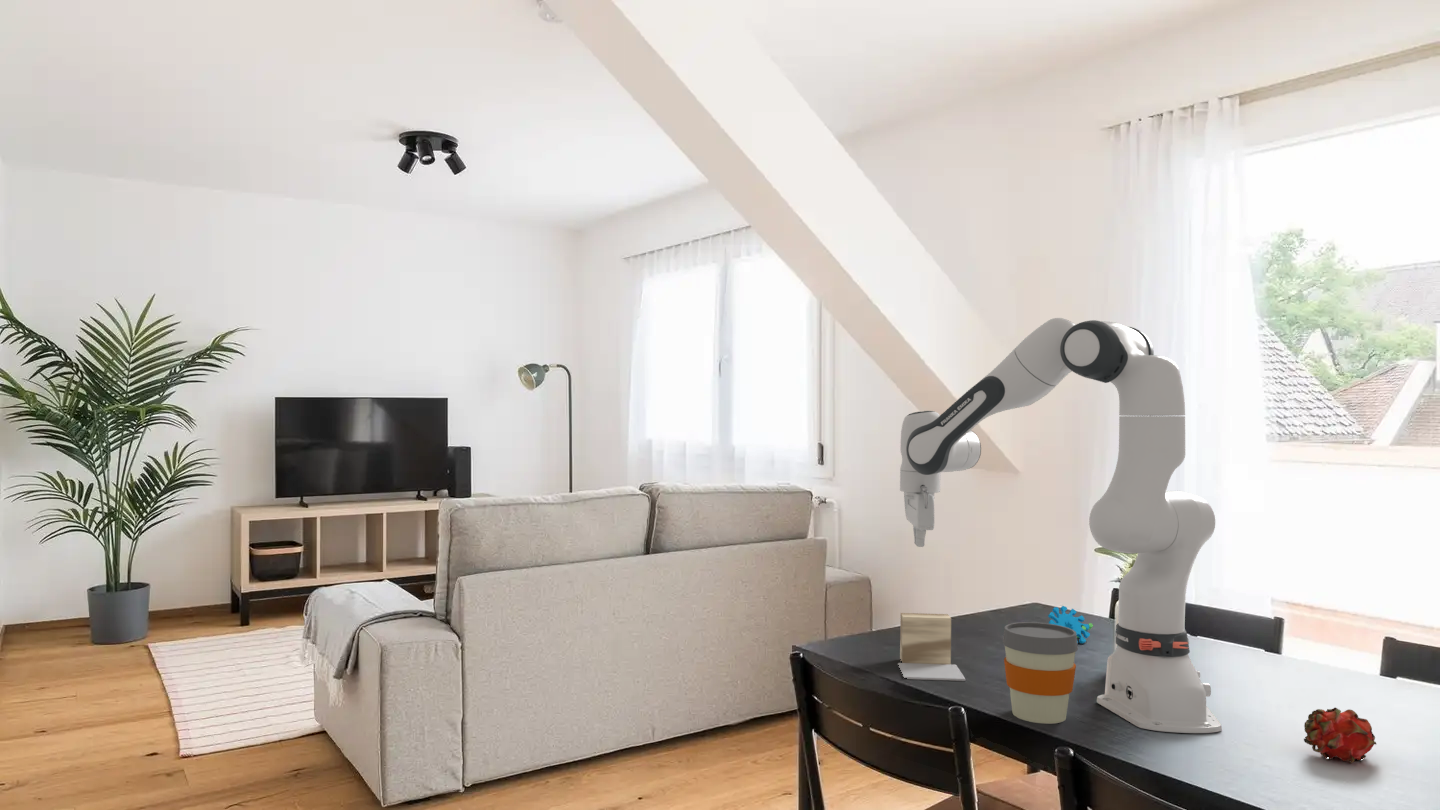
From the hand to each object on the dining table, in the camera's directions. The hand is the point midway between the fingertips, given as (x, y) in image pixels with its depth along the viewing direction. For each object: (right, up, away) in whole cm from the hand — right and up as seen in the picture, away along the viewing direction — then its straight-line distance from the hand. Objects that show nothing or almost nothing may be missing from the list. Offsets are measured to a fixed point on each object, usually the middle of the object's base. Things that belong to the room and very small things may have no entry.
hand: (919, 545), depth 213 cm
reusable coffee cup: (+12, -23, -45) cm, 52 cm away
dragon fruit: (+53, -24, -64) cm, 86 cm away
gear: (+37, -24, +10) cm, 45 cm away
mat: (-2, -23, -19) cm, 30 cm away
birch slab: (-1, -23, -11) cm, 26 cm away
